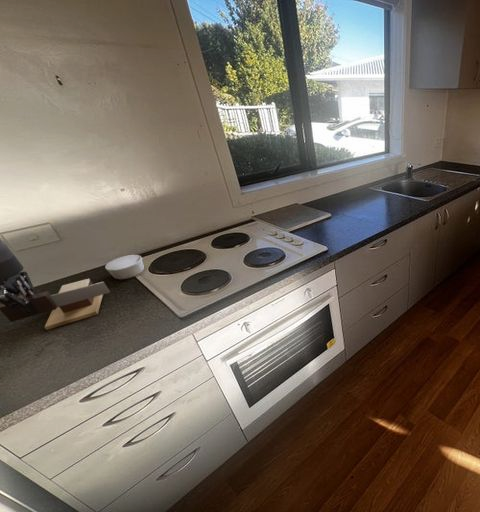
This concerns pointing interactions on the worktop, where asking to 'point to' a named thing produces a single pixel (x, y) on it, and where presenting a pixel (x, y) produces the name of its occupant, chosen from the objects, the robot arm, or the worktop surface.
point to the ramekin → (125, 267)
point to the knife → (55, 300)
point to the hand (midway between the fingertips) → (34, 311)
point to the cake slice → (76, 305)
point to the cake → (75, 285)
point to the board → (73, 314)
